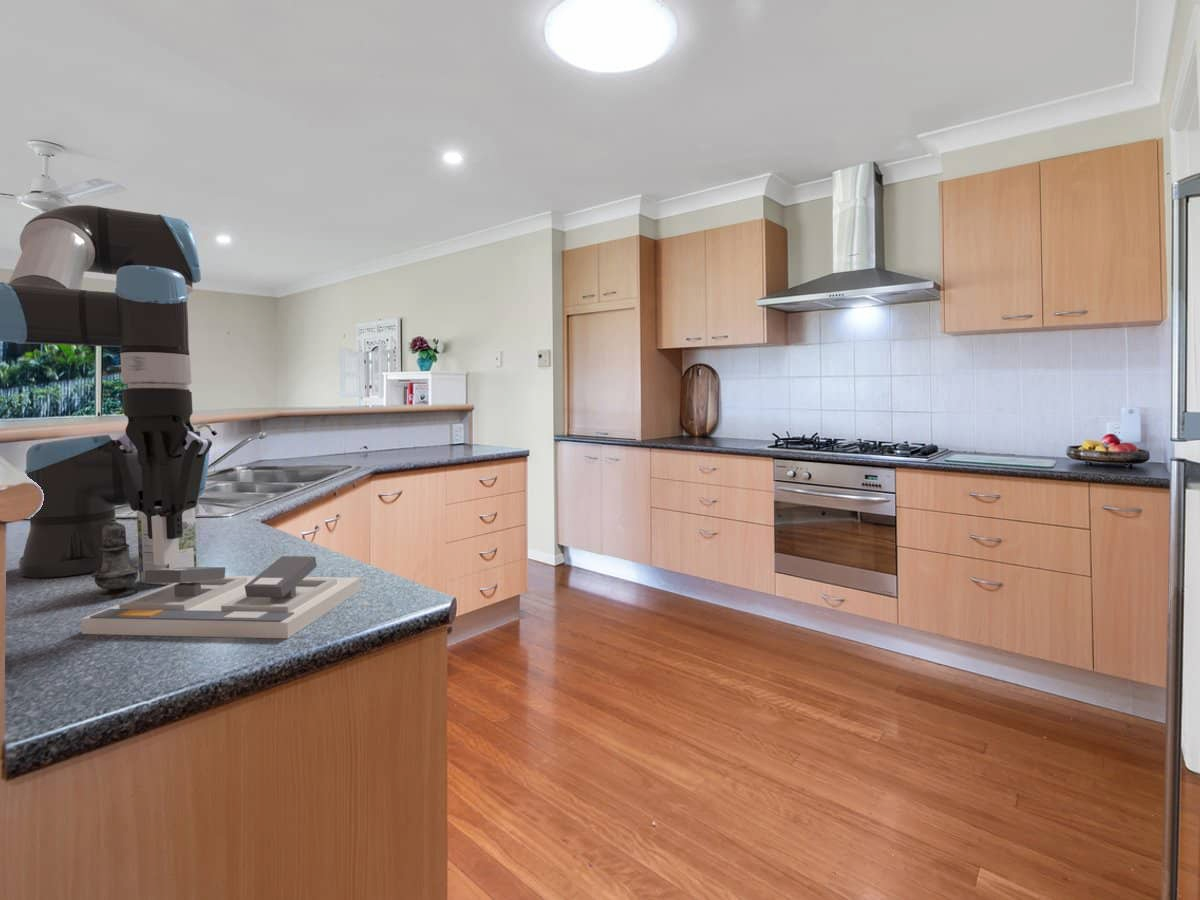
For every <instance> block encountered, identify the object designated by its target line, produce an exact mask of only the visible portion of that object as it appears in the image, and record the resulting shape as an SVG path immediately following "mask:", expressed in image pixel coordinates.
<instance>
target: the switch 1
mask: <svg viewBox="0 0 1200 900" xmlns="http://www.w3.org/2000/svg"><path fill="white" fill-rule="evenodd" d="M225 576H226V567H225V566H223V567H221V566H197V567H184V568H169V569H154V570H146V571H145V580H144V582H160V583H183V582H193V581H203V580H212V579H222V578H225Z"/></svg>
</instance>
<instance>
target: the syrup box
mask: <svg viewBox="0 0 1200 900" xmlns="http://www.w3.org/2000/svg"><path fill="white" fill-rule="evenodd" d="M195 508H196V507H195ZM195 508H192V509H189V510H186V511H184V512H183V514H182V526H183V534H182V537H179V556H180V560H179V561H175V562H172V563H169V564H166V565H154V555H153V539H149V536H148V527H147V516H146V515H145V514H144V513H143V512H140V511H136V520H137V521H136V523H137V527H136V528H137V543H138V546H137V547H138V567H139V568H140V570H139V571H138V572H139V574H138V576H139V582H140V583H141V584H148V585H149V584H150V585H163V586H167V585H170V584H172V583H160V582H144V580H145V571H146V570H154V569H169V568H184V567H198V564H197V540H196V539H197V537H196V535H197V534H196V533H197V532H196V509H195Z"/></svg>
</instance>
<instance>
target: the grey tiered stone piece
mask: <svg viewBox="0 0 1200 900" xmlns="http://www.w3.org/2000/svg"><path fill="white" fill-rule="evenodd" d="M115 518H116V517H115ZM115 518H114V517H112V518H111V523H109V524H107V525H105V526H104V527H103V528H102V541H103V547H101V548H100V550H102V551H103V564H102V568H101V569H100V570H99V571H96V572H92V573H91V577H92V578H94V582H95V584H96V586H97V587H99V588H100V589H102V590H103V591H101V592H99V593H98V594H97V595H96V596H95V600H98V599H100V601H109V600H110V601H111V600H118V599H123V598H129V597H131V596H134V595H136V594H138V593H140V590H139V589H138V588H136V587H132V585H133V584H134V583H135V582H136V581H137V579H138V576H139V574H138V572H139V570H140V568H139V566H133V565H132V564H131V563H130V561H128V553H127V548H128V547H130V544H127V533H126V526H125V525H124V524H122V523H121V522H117V519H115ZM115 520H116V522H115Z"/></svg>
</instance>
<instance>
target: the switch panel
mask: <svg viewBox="0 0 1200 900" xmlns="http://www.w3.org/2000/svg"><path fill="white" fill-rule="evenodd" d="M257 576H258V575H225V578H222V579H212V580H203V581H193V582H183V583H172V584H168V585H164V586H162V587H159V588H158V589H157V588H156V589H154V590H151V591H149V592H146V593H144V594H141V595H138V596H136V597H133V598H131V599H128V600H126V601H123V602H120V603H118V604H116V605H113V606H110V607H107V608H106V609H102V610H101V611H97V612H95V613H92V614H90V615H87V616H84V617H81V634H82V635H111V636H114V635H117V636H153V637H154V636H156V637H157V636H161V637H163V636H165V637H201V638H202V637H204V638H207V637H209V638H210V637H211V638H241V639H242V638H243V639H245V638H247V639H249V638H250V639H251V638H252V639H253V638H254V639H257V638H258V639H289V638H291V637H293V636H294V635H296V634H297V633H299V632H300V631H302V630H303V629H305V628H306V627H308V626H309V625H311V624H313V623H314V622H315V621H317V620H318V619H320V618H321V617H323V616H324V615H327V614H329V612H330V611H332V610H334V609H335V608H337V607H338V606H339V605H341V604H343V603H344V602H346V601H347V600H349V599H351V598H352V597H353V596H355V595H356V594H358V593H359V592H361V590H362V584H361V583H362V582H361V581H362V580H361V579H362V577H334V576H332V577H331V576H330V577H329V576H328V577H327V576H324V577H322V576H306V577H305V578H304V579H303V580H301V581H300V582H299V583H298V584H297V585H296V586H295V587H294V588H293V589H292V590H290V591H289V592H288V593H287V594H286V595H285V596H284V597H283V598H280V597H247V596H246V591H245V585H247V584H248V583H249V582H250V581H252V580H253V579H254V578H255V577H257Z"/></svg>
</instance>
